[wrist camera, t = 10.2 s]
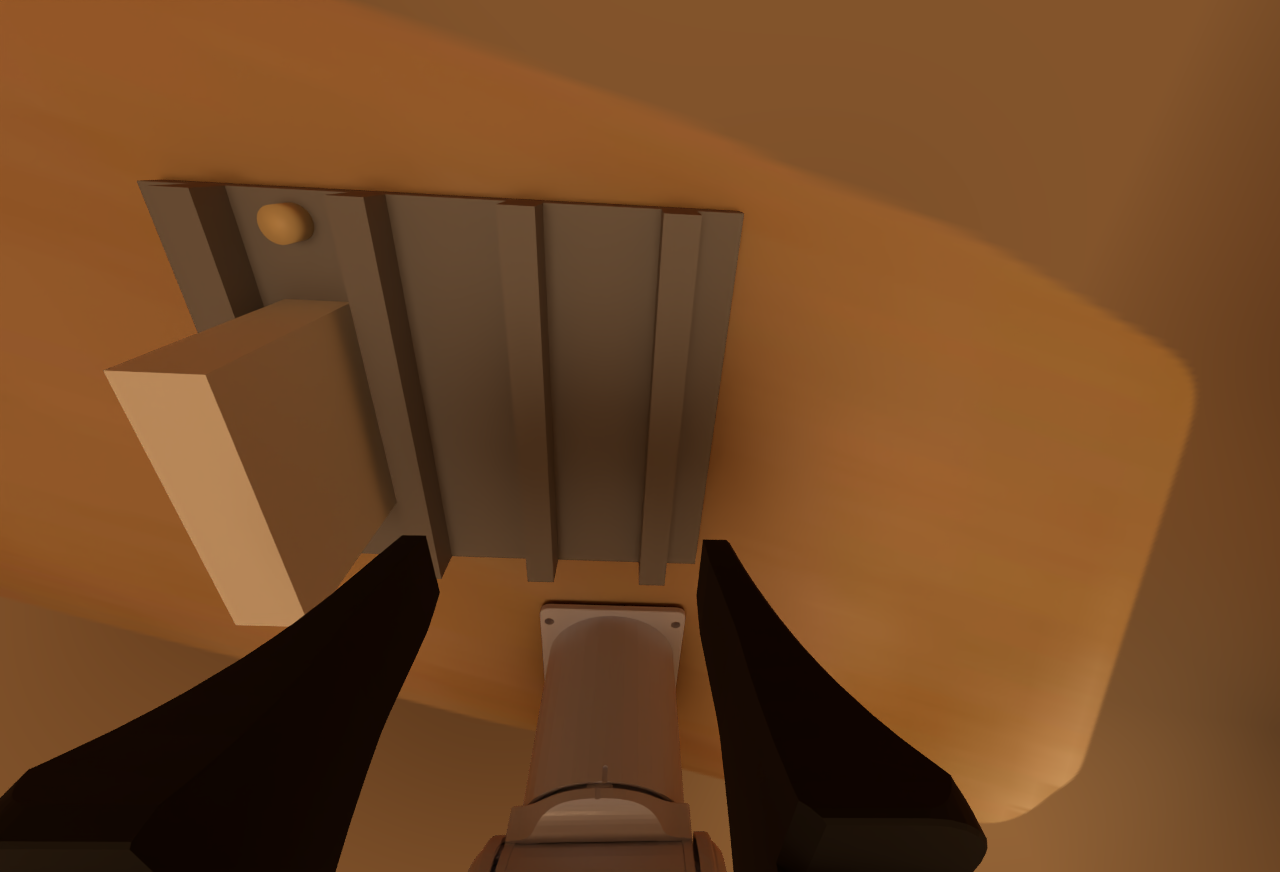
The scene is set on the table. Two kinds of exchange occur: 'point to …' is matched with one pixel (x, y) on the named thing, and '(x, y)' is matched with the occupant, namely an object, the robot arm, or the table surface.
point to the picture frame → (266, 452)
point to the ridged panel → (498, 352)
